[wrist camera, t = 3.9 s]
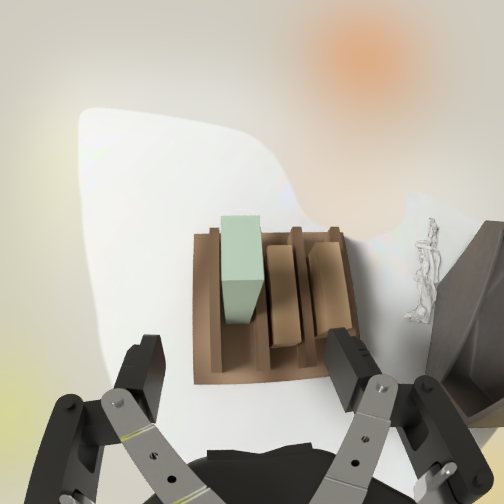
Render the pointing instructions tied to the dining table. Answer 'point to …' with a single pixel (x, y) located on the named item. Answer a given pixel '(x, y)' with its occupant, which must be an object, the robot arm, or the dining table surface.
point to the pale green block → (241, 266)
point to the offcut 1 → (281, 297)
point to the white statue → (426, 276)
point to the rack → (257, 318)
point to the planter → (472, 330)
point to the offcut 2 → (327, 288)
